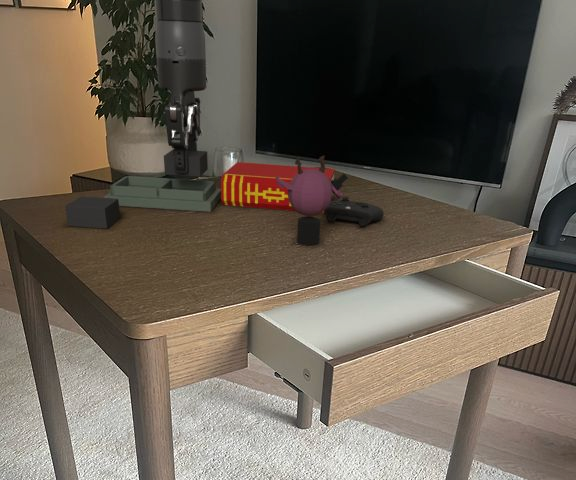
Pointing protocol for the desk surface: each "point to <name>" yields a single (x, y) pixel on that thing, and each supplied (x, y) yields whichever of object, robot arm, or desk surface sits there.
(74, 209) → the pad
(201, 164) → the pad
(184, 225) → the desk surface
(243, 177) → the book
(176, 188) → the divided tray
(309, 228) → the figurine
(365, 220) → the game controller
